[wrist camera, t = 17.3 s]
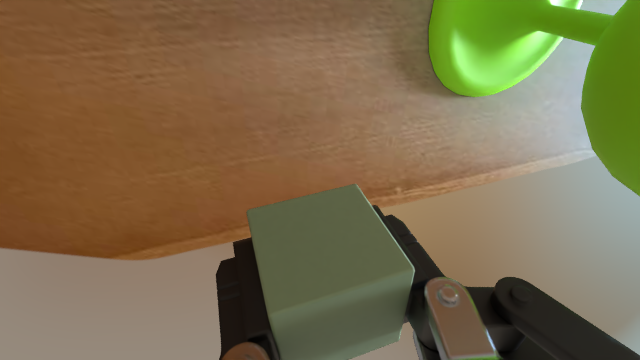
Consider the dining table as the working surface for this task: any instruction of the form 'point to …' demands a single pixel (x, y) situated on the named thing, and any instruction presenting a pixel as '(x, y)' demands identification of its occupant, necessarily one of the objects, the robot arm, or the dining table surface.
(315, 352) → the block
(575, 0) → the wineglass
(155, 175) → the dining table surface
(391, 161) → the dining table surface
